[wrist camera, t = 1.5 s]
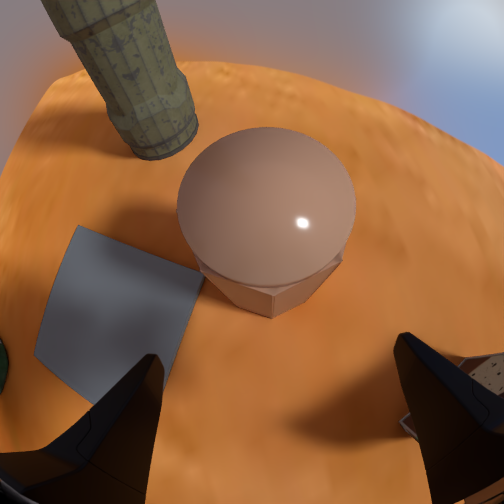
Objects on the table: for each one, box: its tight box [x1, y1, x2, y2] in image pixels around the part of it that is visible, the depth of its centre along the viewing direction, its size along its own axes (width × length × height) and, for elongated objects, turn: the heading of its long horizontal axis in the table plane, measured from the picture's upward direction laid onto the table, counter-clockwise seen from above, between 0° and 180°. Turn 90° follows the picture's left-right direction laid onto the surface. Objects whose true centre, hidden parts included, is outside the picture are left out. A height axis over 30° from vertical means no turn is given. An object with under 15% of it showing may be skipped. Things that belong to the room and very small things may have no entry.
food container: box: [398, 352, 504, 443], centre depth 13 cm, size 12×6×10 cm, turn 120°
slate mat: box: [34, 225, 206, 405], centre depth 22 cm, size 16×16×1 cm
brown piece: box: [176, 127, 356, 319], centre depth 17 cm, size 7×7×13 cm
